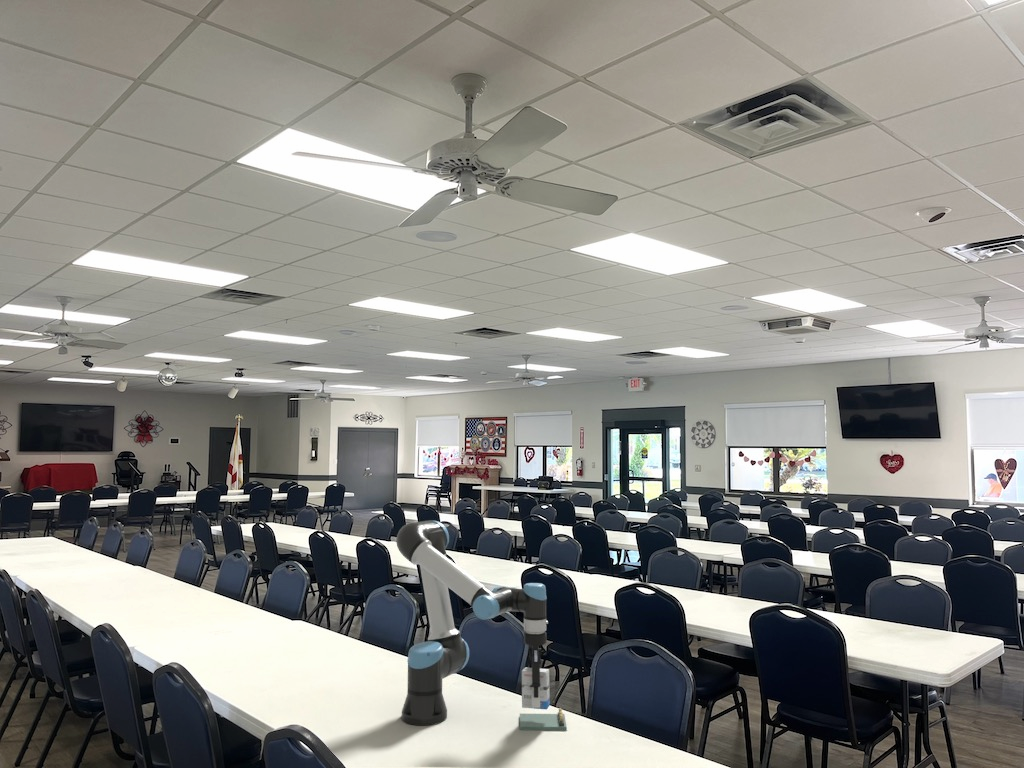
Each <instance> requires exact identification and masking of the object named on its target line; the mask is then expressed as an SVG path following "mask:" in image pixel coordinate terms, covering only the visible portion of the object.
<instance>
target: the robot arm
mask: <svg viewBox="0 0 1024 768" xmlns="http://www.w3.org/2000/svg"><path fill="white" fill-rule="evenodd" d="M448 531H449V530H448V529H447V527H446V526H445V525H444V523H442V522H440V521H437V520H431V519H429V520H423V521H417V522H415V521H413V522H409V523H407V524H404V525H403V526H402V527H401V528H400V529H399V531H398V533H397V535H396V547H397V550H398V551H399V552H400V554H401V555H402V556H403V557H404V558H405V559H406V560H407V561H409V562H410V564H413V565H414V566H415V565H419V568H420V574H421V579H422V580H421V581H422V586H423V587H422V588H423V592H424V599H425V605H426V611H427V615H428V616H427V617H428V622H429V628H430V634H429V636H428V637H427V641H423V642H422V641H421V642H418V643H415V644H414V645H412V646H411V647H410V648H409V650H408V655H407V692H406V693H407V694H406V698H405V700H404V704H403V707H402V709H401V720H402V722H404V723H405V724H409V725H413V726H431V725H435V724H436V725H437V724H440V723H442V722H444V721H445V720H446V719H447V717H448V708H447V705H446V702H445V699H444V698H445V697H444V694H443V679H445V678H448V677H449V676H452V675H456V674H457V673H458V672H460V671H461V670H463V669H464V668H465V667H466V666H467V664H468V661H469V658H470V648H469V645H468V643H467V641H465V640H464V638H462V636H461V631H460V630H458V629H457V628H456V626H455V622H454V616H453V609H452V603H451V599H450V598H451V597H450V592H449V589H450V590H451V591H452V592H454V593H455V594H456V595H457V596H459V597H460V598H461V599H463V600H464V601H465V602H466V603H468V604H469V605H470V606H471V607H472V611H473V612H474V613H473V614H475V617H477V618H478V619H479V620H491V619H494V618H496V617H497V616H499V615H503V614H505V613H508V612H520V613H523V631H524V633H523V643H524V644H525V645H527V646H530V648H529V652H528V653H529V661H530V662H529V663H530V665H531V668H532V685H530V687H532V708H531V709H534V708H540V668H541V667H540V666H541V664H542V658H541V656H542V654H543V653H542V648H541V647H540V646H544V645H546V644H547V643H548V641H547V637H548V635H547V632H546V631H547V625H548V624H549V621H548V620H547V599H548V598H547V589H546V585H545V584H543V583H541V582H527V583H525V584H524V585H523V588H518V587H516V588H514V587H508V586H507V587H506V586H496V587H494V588H492V590H490V589H489V588H487V587H486V586H485V585H483V583H481V582H479V581H478V580H477V579H475V578H474V576H471V575H470V574H469V573H468V572H466V571H465V570H464V569H463V568H461V567H460V566H458V565H457V564H456V563H454V562H453V561H452V560H451V559H450V558H448V557H447V551H446V550H447V549H446V548H447V547H448V545H449V543H450V535H449V532H448Z"/></svg>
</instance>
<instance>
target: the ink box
mask: <svg viewBox="0 0 1024 768" xmlns="http://www.w3.org/2000/svg"><path fill="white" fill-rule="evenodd" d="M530 685H532V667H524V668H523V669H522V670H521V708H523V709H534V710H535V709H536V710H548V708H549V707H550V705H551V701H550V700H551V699H550V695H551V693H550V669H549V668H541V667H540V708H532V687H530Z"/></svg>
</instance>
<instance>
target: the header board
mask: <svg viewBox="0 0 1024 768" xmlns="http://www.w3.org/2000/svg"><path fill="white" fill-rule="evenodd" d="M567 728H568V727H567V721H566V716H565V713H563V708H560V707H559V708H558V712H557V713H519V730H520V731H522V730H523V731H535V730H536V731H567Z"/></svg>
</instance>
